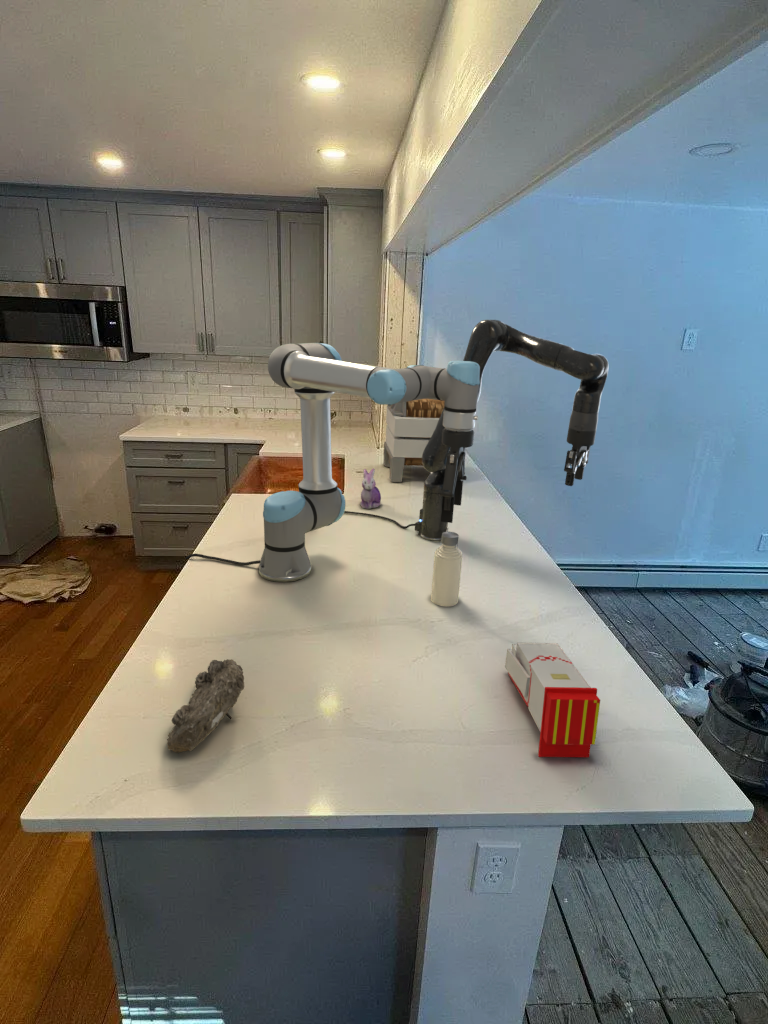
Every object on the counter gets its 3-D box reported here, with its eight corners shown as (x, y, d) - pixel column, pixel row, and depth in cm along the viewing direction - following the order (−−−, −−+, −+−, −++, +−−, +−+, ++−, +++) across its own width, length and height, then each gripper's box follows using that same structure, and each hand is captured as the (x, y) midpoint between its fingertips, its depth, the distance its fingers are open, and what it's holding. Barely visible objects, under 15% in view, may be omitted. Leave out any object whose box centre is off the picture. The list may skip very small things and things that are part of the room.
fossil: (192, 660, 117) (244, 628, 112) (224, 691, 120) (276, 661, 115) (142, 746, 98) (202, 712, 93) (182, 779, 101) (242, 748, 96)
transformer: (382, 463, 289) (386, 382, 275) (445, 464, 293) (451, 384, 279) (390, 482, 257) (394, 392, 243) (460, 483, 261) (468, 394, 247)
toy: (553, 625, 127) (610, 695, 97) (548, 680, 129) (601, 765, 100) (500, 624, 126) (540, 694, 97) (495, 679, 129) (533, 764, 100)
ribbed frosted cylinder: (429, 604, 153) (434, 539, 147) (432, 591, 160) (437, 529, 154) (456, 608, 152) (463, 543, 145) (459, 595, 159) (465, 532, 152)
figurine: (365, 510, 221) (366, 473, 215) (354, 502, 229) (355, 466, 224) (386, 507, 225) (388, 471, 220) (375, 500, 233) (376, 464, 228)
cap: (440, 545, 148) (440, 536, 148) (442, 538, 153) (442, 530, 152) (457, 547, 148) (458, 538, 147) (458, 540, 152) (459, 532, 151)
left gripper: (467, 440, 122) (458, 532, 129) (480, 421, 145) (472, 499, 152) (432, 437, 124) (426, 527, 131) (451, 418, 147) (445, 496, 154)
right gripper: (577, 422, 167) (568, 474, 173) (561, 428, 156) (552, 484, 162) (603, 425, 163) (593, 479, 169) (588, 433, 152) (578, 490, 158)
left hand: (451, 512), depth 141 cm, fingers open, 13 cm apart
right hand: (573, 482), depth 165 cm, fingers open, 8 cm apart
